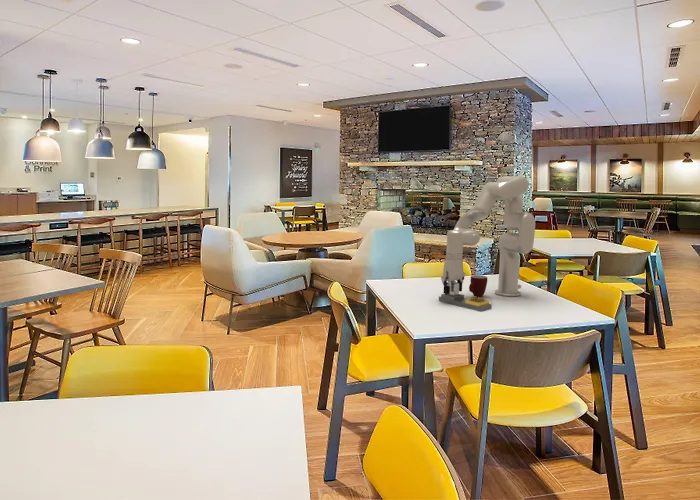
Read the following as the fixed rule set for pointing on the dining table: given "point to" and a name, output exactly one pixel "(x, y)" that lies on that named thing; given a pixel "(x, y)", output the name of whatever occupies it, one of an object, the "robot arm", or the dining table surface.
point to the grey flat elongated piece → (466, 302)
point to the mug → (478, 285)
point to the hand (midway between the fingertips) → (452, 292)
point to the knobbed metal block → (454, 289)
